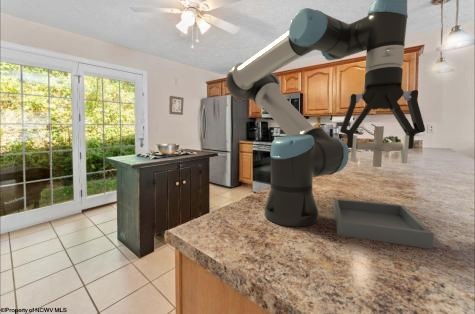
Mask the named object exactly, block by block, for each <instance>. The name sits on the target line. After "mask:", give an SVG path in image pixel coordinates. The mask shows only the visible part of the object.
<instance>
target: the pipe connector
mask: <svg viewBox="0 0 475 314" xmlns="http://www.w3.org/2000/svg"><path fill="white" fill-rule="evenodd" d="M384 130H385V128H384V126H382V125H381V126H374V139H373V140H374V141H369V142H356V151H357V150H358V151H359V150H360V151H364V150H365V151H366V150H367V151H369V150H370V151H373V155H372V167H375V168H382V159H383V157H382V156H383V152H384V153H390V152H392V151H394V150H395V151H400V150H402V148H403V144H402V143H401V142H384Z"/></svg>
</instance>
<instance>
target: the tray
mask: <svg viewBox="0 0 475 314" xmlns="http://www.w3.org/2000/svg"><path fill="white" fill-rule="evenodd" d="M333 214H334V222H335V229H336V234H337V236H342V237H350V238H354V239H355V238H356V239H361V240H369V241H370V240H371V241H376V242H383V243H390V244H395V245H403V246H409V247H416V248H422V249H431V250H432V249H433V243H434V232H433V231H431V230H430V229H429V228H428V226H426V224H424V223H423V222H422V221H421V220H420V219H419V218H418V217H417V216H416V215H415V214H414V213H412V211H410V210H409V209H408V208H407V207H406V206H405V205H403V204H394V203H384V202H373V201H363V200H362V201H361V200H354V199H353V200H351V199H341V198H333Z"/></svg>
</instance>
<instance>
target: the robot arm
mask: <svg viewBox="0 0 475 314" xmlns="http://www.w3.org/2000/svg"><path fill="white" fill-rule="evenodd" d="M408 16H409V15H408V0H375V1H373V2H371V4H370V6H369V8H368V12H367V15H366V16H365V17H362V18H361V19H358V20H355V21H354V22H351V23H346V22H345V21H342V20H340V19H337V18H334V17H332V16H330V15H328V14H327V13H324V12H323V11H321V10H318V9H313V8H309V7H304V8H302V9H299V10H298V11H297V12H296V13H295V14H294V17H293V18H292V19H291V21H290V24H289V27H288V30H287V31H285V32H284V33H283V34H281V35H280V36H279V37H277V38H276V39H275V40H273V41H272V42H270V43H269V44H267V45H266V46H265V47H264V48H262V49H260V51H258V52H257V53H255V54H254V55H252V56H251V57H250V58H248V59H247V60H246V61H245V62H238V63H237V64H235V65H234V66H233V67H232V68H230V70H229V71H228V73H227V75H226V79H225V83H226V88H227V90H228V92H229V93H230V95H232V96H233V97H235V98H237V99H240V100H249V101H250V100H251V101H253V102H254V104H255V105H256V106H257V107H259V109H264V110H265V111H266V112H267V113H268V114H269V116H270V117H271V118H272V120H274V122H275V123H276V124H277V126H278V127H280V129H281V131H283V133H284V134H285V136H279V137H276V138H274V139H273V141H272V142H271V147H270V154H269V155H270V191H269V193H268V196H267V198H266V202H265V206H264V216H265V218H266V219H267V220H268V221H270V222H271V223H274V224H278V225H281V226H286V227H295V228H296V227H307V226H311V225H315V223H317V222H318V220H319V209H318V206H317V203H316V200H315V197H314V193H313V179H314V178H317V177H322V176H326V175H327V176H331V175H334V174H336V173H340V172H342V170H343V169H345V167H346V166H347V164H348V161H349V154H350V160H351V161H352V162H356V160H357V159H356V155H357V150H356V143H357V138H358V135H354V134H355V133H356V131H357V129H358V128H359V127H360V126H361V125H362V123H363V121H364V120H365V118H366V117H367V116H368V114H369V113H370V112H371V110H373V111H374V110H375V111H376V110H390V111H391V113H392V114H393V116H394V118H395V119H396V121H397V122H398V124H399V125H400V127H401V129H402V130H403V132H404V133H405V134H403V135H401V136H400V138H401V139H400V143H402V144H403V148H402V150H399V159H398V160H399V163H402V164H407V163H408V157H409V150H412V149H413V148H414V143H415V136H416V135H418V134H420V133H424V132H425V131H426V127H425V123H424V121H423V120H424V119H423V116H422V113H421V110H420V105H419V103H418V101H419V100H418V97H419V91H418V90H417V89H413V90H404V89H403V87H402V85H403V83H402V82H403V72H404V71H403V68H402V66H403V65H404V57H405V56H404V55H405V47H406V46H405V45H406V44H405V43H406V42H405V41H406V31H407V23H408ZM313 51H320V52H321V55H322V57H324V59H325V60H327V61H335V60H342V59H344V58H346V57H350V56H351V55H352V56H353V55H355V54H359V53H361V52H365V51H366V56H365V57H366V58H365V71H366V73H365V74H364V86H363V92H362V93H359V94H355V93H352V94H350V96H349V105H348V108H347V111H346V113H345V116H344V119H343V122H342V124H341V127H340V130H339V132H340V133H341V134H344V135H346V136H347V139H346V143H345V141H344V140H342V139H341V138H338V137H333V136H330V135H329V134H328V133H327V132H326V131H325V130H324V129H323V128H322V127H320V126H316V127H315V126H313V125H312V124H311V123H310V121H309V120H307V118H306V117H304V115H302V113H301V112H300V111H299V110H298V109H297V108H296V107H295V106H294V105H293V103H291V102H290V101H289V100H288V99H287V98H286V97H285V96H284V94H282V93H281V92H282V91H281V85H280V79H279V77H278V76H277V75H275V74H274V72H277V71H278V70H280V69H282V68H283V67H285V66H287V65H288V64H291V63H292V62H294V61H296V60H298V59H299V58H302V57H304V56H306V55H307V54H309V53H311V52H313ZM402 97H403V98H404V99H403V100H404V101H406V104H407V107H408V112H409V115H410V119H411V122H412V124H411V123H410V121H409V120H408V118H407V116H406V115H405V114H404V112H403V110H402V107H401V106H400V104H399V102H398V101H399V100H401V98H402ZM361 99H362V100H363V102H364V103H365V104H366V105H365V106H364V108H363V109H362V110H361V112H360V113H359V115H358V117H356V120H355V121H354V122H353V123H352V125H351V127H350V128H349V129H348V127H349V124H350V122H351V118H352V115H353V113H354V111H355V107H356V105H357V104H358V103H360V101H361ZM412 125H413V126H412ZM350 148H351V149H350ZM349 149H350V150H351V151H349Z"/></svg>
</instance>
